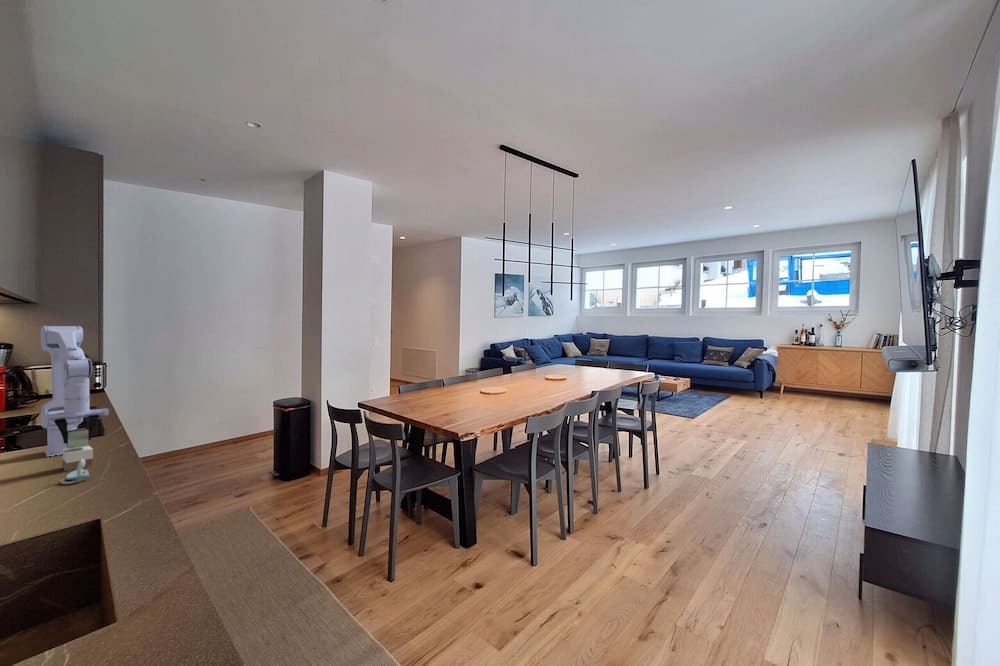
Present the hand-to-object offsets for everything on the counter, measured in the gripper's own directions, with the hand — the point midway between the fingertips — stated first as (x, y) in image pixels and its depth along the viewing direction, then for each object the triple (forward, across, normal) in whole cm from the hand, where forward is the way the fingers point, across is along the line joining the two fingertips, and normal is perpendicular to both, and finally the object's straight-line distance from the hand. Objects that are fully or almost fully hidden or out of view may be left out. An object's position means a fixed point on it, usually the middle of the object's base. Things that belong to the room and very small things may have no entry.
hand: (77, 441), depth 134 cm
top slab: (+6, 0, 0) cm, 6 cm away
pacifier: (+9, -2, -15) cm, 17 cm away
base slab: (+8, 0, 0) cm, 9 cm away
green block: (+2, 0, 0) cm, 2 cm away
